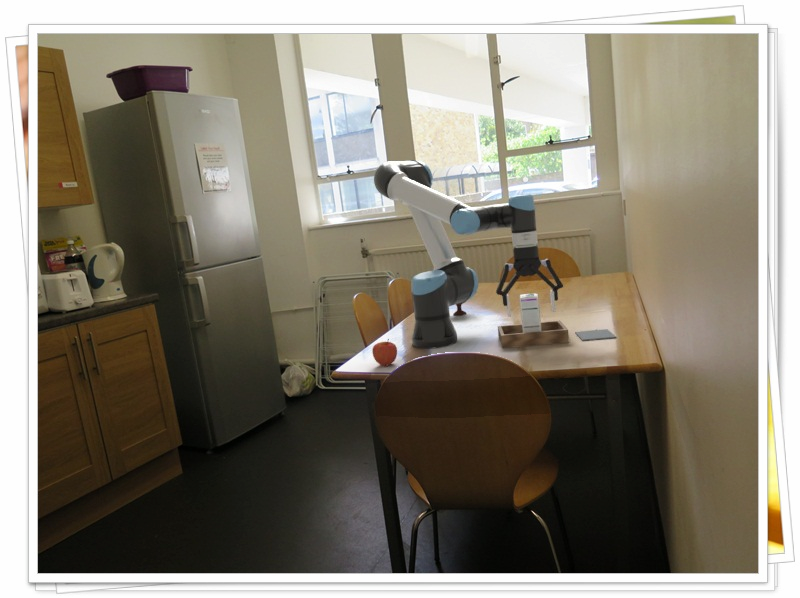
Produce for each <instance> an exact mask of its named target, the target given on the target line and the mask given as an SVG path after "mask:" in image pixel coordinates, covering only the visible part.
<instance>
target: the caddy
mask: <svg viewBox="0 0 800 598" xmlns="http://www.w3.org/2000/svg"><path fill="white" fill-rule="evenodd" d="M497 334H498V340H499V343H500V345H501V348H502V349H509V348H520V347H521V348H522V347H533V346H534V347H535V346H544V345H554V344H555V345H557V344H568V343H570V334H569V329H568V327H566V326H565V324H564V323H563V322H562V321H561V320H551V321H541V331H538V332H527V333H523V330H522V323H516V324H505V325H497Z"/></svg>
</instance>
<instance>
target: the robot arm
mask: <svg viewBox="0 0 800 598" xmlns="http://www.w3.org/2000/svg"><path fill="white" fill-rule="evenodd" d="M373 184H374V187H375V189H376V190H377V192H378V193H379V194H380V195H382V196H384V197H385V198H387V199H389V200H392V201H400V202H401V204H402V205H404V206H407V207H408V210H409V213H410V214H411V216H412V219H413V221H414V223H415V225H416V229H417V230H418V233H419V235H420V237H421V239H422V242H423V244H424V246H425V249H426V252H427V254H428V256H429V258H430V260H431V263H432V266H433V269H432V270H428V271H423V272H420V273H418V274H416V275H414V276H413V278H411V281H410V284H411V289H410V291H411V297H412V304H413V305H412V306H413V313H414V326H413V332H412V336H411V342H412V346H414V347H415V348H419V349H420V348H421V349H434V348H433V347H436V348H441V347H442V346H443V347H447V346H451V345H453V344H455V343H457V342H458V334H457V330H456V328H455V327H454V324H453V322H452V319H451V316H450V314H451V313H450V307H451V306H454V305H455V304H458V303H463V302H465V301H466V302H468V301H469V300H471V299H472V298H474V297H475V296H476V294H477V292H478V289H479V278H478V275H477V273H476V271H475V270H474V269H473V268H470V267H468V266H466V264H465V262H464V260H463V259H462V258H459V257H457V255H456V252H455V250H454V247H453V246H452V243H451V241H450V239H449V236H448V234H447V232H446V229H445V227H444V225H443V223H442V222H444V223H446V224H448V225H450V226H451V229H452V230H453V231H454V232H455V234H457V235H460V236H461V235H462V236H464V235H471V234H472V235H473V234H476V233H480V232H488V231H492V230H497V229H505V228H510V229H511V230H510V231H511V240H512V241H511V242H512V246H513V249H512V251H513V263H507V262H506V263H504V266H503V272H502V275H501V278H500V279H499V283H498V284H497V288H496V291H495V293H496V295H498V296H499V295H500V296H501V297H502V305H503V307H506V309H507V310H506V312H507V317H512V313H511V303H510V295H509V292H510V291H511V289H512V288H513V286H514V285H515V284H516V282H517V281H518V279H520V277H523V278H524V277H532V276H535V275H537V276H538V277H539V278H541V280H542V281H544V283H546V284H547V285H548V286H549V287H550V288H551V289H549V294H550V295H549V296H550V306H551V307H550V308H551V312H553V313H556V301H558V300H559V296H558V295H559V294H558V291H559V290H560V289H562V288H564V284H563V283H562V281H561V280H560V278H559V276H558V275H557V273H556V272H555V270H554V268H553V267H552V265H551V260H550V259H548V258H545V259H542V260H541V259H540V255H539V254H540V253H539V245H537V244H538V243H539V242H538V232H537V223H536V221H537V220H536V206H535V202H534V201H535V200H534V196H533V195H532V194H527V193H526V194H520V195H513V196H509V197H508V201H507V203H500V204H488V205H487V204H486V205H483V206H477V207H472V206H470V205H468V204H465V203H463V202H461V201H459V200H457V199H455V198H452V197H450V196H448V195H446V194H443V193H441V192H439V191H437V190H434V189H433V188H432V185H433V173H432V170H431V169H430V167H429V166H428V165H427V164H426V163H425V162H423V161H420V160H415V159H409V160H404V161H403V160H397V161H396V160H395V161H392V160H391V161H386V162H383V163H382V164H381V165H379V166H378V167H377V169H376V170H375V172H374V175H373ZM542 265H543V267H546V270H548V272H549V274H550V276H551V277H552V279H553V280H554V282H555V284H554V283H553V282H552V281H551V280H550V279H549V278H548V277H547V276H546V275H545V274H543V273H542V272H541V271H540V270H539V269H540V268H541V266H542ZM512 268H513V269H514V270H515V271H516V272H515V273H514V274H513V276H512V278H511V279H510V280H509V281H508V283H507V285H506V286H505V287H504V285H505V283H506V280H507V278H508V275H509V272H510V271H512ZM466 302H465V303H466ZM463 304H464V303H463ZM455 306H456V305H455ZM450 344H451V345H450ZM443 347H442V348H443Z"/></svg>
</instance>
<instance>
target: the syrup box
mask: <svg viewBox="0 0 800 598" xmlns="http://www.w3.org/2000/svg"><path fill="white" fill-rule="evenodd" d="M538 295H539V294H538V293H536V292H533V293H532V292H531V293H523V294H519V306H520V307H519V308H520V319H521V324H522V330H523V333H527V332H538V331H541V322H542V321H541V311H540V303H539V296H538Z"/></svg>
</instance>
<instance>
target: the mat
mask: <svg viewBox="0 0 800 598" xmlns="http://www.w3.org/2000/svg"><path fill="white" fill-rule="evenodd" d="M574 334H575V335H576V336H577V337H578V338H579V340H581V342H582V341H583V342H587V341H596V340H598V341H599V340H608V339H609V340H610V339H617V336H616V335H615V334H614V333H613V332H611V331H610V330H609V329H608V328H604V329H595V330H592V329H591V330H584V331H583V330H581V331H574Z"/></svg>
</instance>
